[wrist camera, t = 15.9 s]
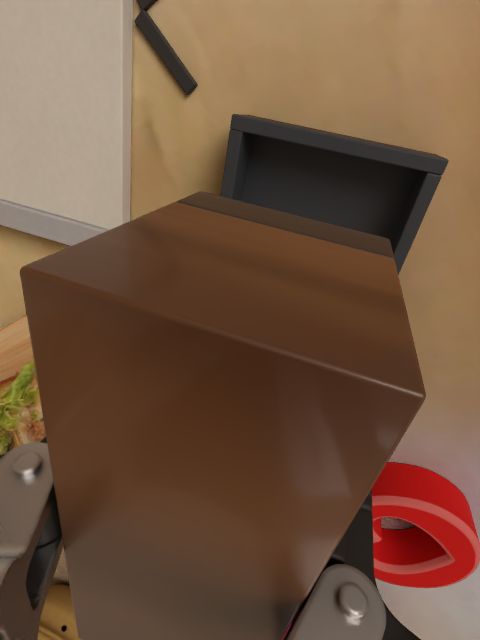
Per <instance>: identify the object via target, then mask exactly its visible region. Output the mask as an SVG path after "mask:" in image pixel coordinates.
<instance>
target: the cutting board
mask: <svg viewBox="0 0 480 640" xmlns="http://www.w3.org/2000/svg"><path fill="white" fill-rule="evenodd" d="M45 437H46V433H45V427H44V420H43V414H42V408H41V401H40V395H39V389H38V383H37V376H36V370H35V364H34V358H33V351H32V345H31V339H30V332H29V326H28V320H27V315H26V316H24V317H22V318H21V319H19V320H17V321H15V322H14V323H12V324H10V325H9V326H7V327H5V328H3V329H2V330H0V455H5V454H6V453H8V452H9V451H11V450H12V449H14V448H16V447H18V446H21V445H24V444H28V443H34V442H40V441H41V440H42V439H43V438H45Z"/></svg>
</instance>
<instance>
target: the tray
mask: <svg viewBox="0 0 480 640" xmlns="http://www.w3.org/2000/svg"><path fill="white" fill-rule="evenodd" d="M230 128H231V130H230V133H229V141H228V148H227V155H226V162H225V169H224V176H223V183H222V190H221V197H225V198H229V199H233V200H237V201H241V202H245V203H249V204H253V205H257V206H261V207H265V208H269V209H273V210H277V211H281V212H285V213H289V214H293V215H297V216H301V217H305V218H309V219H313V220H317V221H321V222H325V223H329V224H333V225H336V226H340V227H344V228H348V229H352V230H356V231H360V232H364V233H368V234H372V235H376V236H380V237H384V238H388V239H389V240H390V242H391V247H392V251H393V255H394V260H395V264H396V268H397V273H398V275H399V272H400V270H401V268H402V266H403V263H404V261H405V259H406V256H407V254H408V252H409V250H410V247H411V245H412V243H413V241H414V238H415V236H416V234H417V231H418V229H419V227H420V225H421V222H422V220H423V218H424V216H425V213H426V211H427V209H428V207H429V204H430V202H431V200H432V197H433V195H434V193H435V191H436V188H437V186H438V184H439V182H440V179H441V175H442V174H443V173H444V170H445V168H446V166H447V163H448V160H447V159H445V158H443V157H441V156H438V155H436V154H431V153H426V152H422V151H417V150H412V149H407V148H403V147H398V146H393V145H388V144H384V143H379V142H374V141H369V140H365V139H360V138H355V137H350V136H346V135H341V134H336V133H331V132H327V131H322V130H317V129H312V128H308V127H303V126H298V125H293V124H289V123H284V122H279V121H274V120H270V119H265V118H260V117H255V116H251V115H239V114H233V115H232V120H231V127H230Z"/></svg>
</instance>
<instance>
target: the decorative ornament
mask: <svg viewBox="0 0 480 640" xmlns="http://www.w3.org/2000/svg"><path fill="white" fill-rule="evenodd" d="M371 497H372V514H373V553H374V577H375V578H376V579H379V580H382V581H384V582H387V583H391V584H395V585H400V586H406V587H415V588H437V587H443V586H448V585H451V584H454V583H457V582H459V581H461V580H463V579H465V578H467V577H468V576H469V575H470V574H472V573H473V572H474V571H475V569H476V568H477V566H478V564H479V562H480V543H479V540H478V536H477V532H476V529H475V525H474V522H473V518H472V514H471V511H470V507H469V504H468V502H467V500H466V498H465V496H464V495H463V494H462V492H461V491H460V490H459V489H458V488H457V487H456V486H455V485H454V484H452V483H451V482H450V481H448V480H447V479H445V478H444V477H442V476H440V475H438V474H437V473H435V472H432V471H430V470H427V469H424V468H421V467H418V466H413V465H408V464H402V463H391V462H387V464H386V465H385V467H384V469H383V470H382V472H381V474H380V475H379V477H378V479H377V480H376V482H375V484H374V485H373V487H372V495H371ZM383 517H394V518H399V519H402V520H405V521H408V522H410V523H412V524H414V525H416V527H413V528H409V529H402V530H389V529H384V528H381V518H383Z"/></svg>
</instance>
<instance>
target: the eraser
mask: <svg viewBox="0 0 480 640" xmlns="http://www.w3.org/2000/svg"><path fill="white" fill-rule="evenodd" d="M20 276H21V282H22V289H23V295H24V301H25V307H26V314H27V320H28V326H29V332H30V339H31V345H32V351H33V358H34V364H35V370H36V376H37V383H38V389H39V395H40V401H41V408H42V414H43V420H44V427H45V433H46V439H47V445H48V452H49V458H50V464H51V470H52V477H53V483H54V489H55V496H56V502H57V508H58V514H59V521H60V527H61V533H62V539H63V546H64V552H65V558H66V565H67V571H68V577H69V583H70V590H71V596H72V602H73V608H74V615H75V621H76V627H77V634H78V637H79V638H80V639H82V640H281V639H282V637H283V636H284V634H285V632H286V631H287V629H288V627H289V626H290V624H291V622H292V621H293V619H294V617H295V616H296V614H297V612H298V611H299V609H300V607H301V606H302V604H303V602H304V601H305V599H306V597H307V596H308V594H309V592H310V591H311V589H312V587H313V586H314V584H315V582H316V581H317V579H318V577H319V576H320V574H321V572H322V570H323V569H324V567H325V565H326V564H327V562H328V560H329V559H330V557H331V555H332V554H333V552H334V550H335V549H336V547H337V545H338V544H339V542H340V540H341V539H342V537H343V535H344V534H345V532H346V530H347V529H348V527H349V525H350V524H351V522H352V520H353V519H354V517H355V515H356V514H357V512H358V510H359V509H360V507H361V505H362V504H363V502H364V500H365V499H366V497H367V495H368V494H369V492H370V490H371V489H372V487H373V485H374V484H375V482H376V480H377V479H378V477H379V475H380V474H381V472H382V470H383V469H384V467H385V465H386V464H387V462H388V460H389V459H390V457H391V455H392V454H393V452H394V450H395V448H396V447H397V445H398V443H399V442H400V440H401V438H402V437H403V435H404V433H405V432H406V430H407V428H408V427H409V425H410V423H411V422H412V420H413V418H414V417H415V415H416V413H417V412H418V410H419V408H420V407H421V405H422V403H423V402H424V400H425V398H426V393H425V389H424V384H423V380H422V376H421V371H420V367H419V363H418V359H417V354H416V350H415V346H414V341H413V337H412V333H411V329H410V324H409V320H408V316H407V311H406V307H405V303H404V298H403V294H402V290H401V286H400V281H399V277H398V273H397V268H396V264H395V260H394V255H393V251H392V247H391V242H390V240H389V239H388V238H384V237H380V236H376V235H372V234H368V233H364V232H360V231H356V230H352V229H348V228H344V227H340V226H336V225H333V224H329V223H325V222H321V221H317V220H313V219H309V218H305V217H301V216H297V215H293V214H289V213H285V212H281V211H277V210H273V209H269V208H265V207H261V206H257V205H253V204H249V203H245V202H241V201H237V200H233V199H229V198H225V197H221V196H217V195H213V194H209V193H205V192H197V193H195V194H193V195H190V196H188V197H186V198H183V199H181V200H179V201H177V202H174V203H172V204H169V205H167V206H165V207H162V208H160V209H157V210H155V211H153V212H150V213H148V214H146V215H143V216H141V217H139V218H136V219H134V220H132V221H129V222H127V223H124V224H122V225H120V226H117V227H115V228H113V229H110V230H108V231H106V232H103V233H101V234H98V235H96V236H94V237H91V238H89V239H87V240H84V241H82V242H80V243H77V244H75V245H72V246H70V247H68V248H65V249H63V250H61V251H58V252H56V253H54V254H51V255H49V256H47V257H44V258H42V259H39V260H37V261H35V262H32V263H30V264H28V265H25V266H23V267H22V268H21V270H20Z"/></svg>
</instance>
